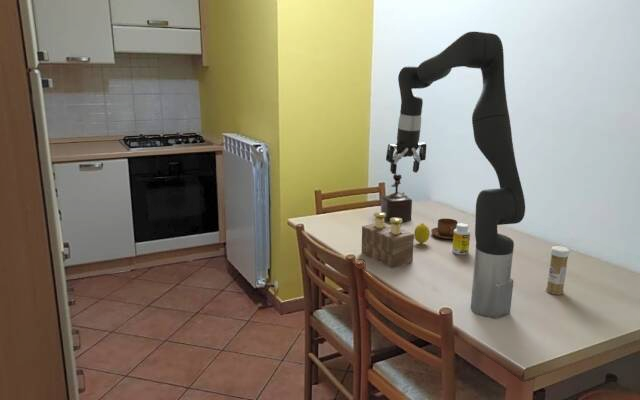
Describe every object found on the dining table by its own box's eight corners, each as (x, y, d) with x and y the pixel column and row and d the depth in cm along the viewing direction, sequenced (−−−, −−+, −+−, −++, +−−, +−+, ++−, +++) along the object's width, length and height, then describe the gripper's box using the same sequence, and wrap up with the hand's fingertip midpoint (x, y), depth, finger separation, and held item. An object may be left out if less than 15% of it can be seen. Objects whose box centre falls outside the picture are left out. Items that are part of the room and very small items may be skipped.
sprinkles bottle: (542, 290, 143) (548, 246, 140) (554, 287, 145) (559, 244, 142) (555, 296, 139) (561, 252, 136) (567, 293, 141) (573, 249, 138)
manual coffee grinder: (413, 220, 210) (415, 179, 206) (389, 222, 207) (390, 181, 203) (398, 211, 225) (400, 172, 220) (375, 212, 222) (377, 173, 217)
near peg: (403, 247, 164) (404, 219, 161) (394, 250, 161) (395, 221, 159) (395, 244, 167) (396, 216, 164) (386, 246, 165) (387, 218, 162)
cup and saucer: (469, 239, 188) (470, 223, 186) (442, 243, 183) (443, 227, 182) (450, 230, 198) (451, 215, 197) (424, 233, 194) (425, 218, 193)
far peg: (387, 241, 170) (388, 214, 167) (378, 243, 168) (379, 215, 165) (379, 238, 173) (380, 211, 171) (371, 240, 171) (371, 213, 168)
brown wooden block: (412, 262, 165) (414, 233, 162) (392, 267, 160) (393, 238, 157) (380, 248, 177) (381, 221, 175) (361, 253, 172) (362, 226, 170)
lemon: (411, 245, 181) (412, 224, 179) (416, 240, 185) (417, 220, 183) (426, 247, 178) (427, 226, 176) (430, 242, 183) (432, 222, 181)
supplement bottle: (461, 256, 170) (463, 228, 167) (448, 251, 174) (450, 224, 172) (471, 253, 173) (474, 225, 170) (459, 248, 177) (461, 221, 175)
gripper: (395, 130, 160) (391, 177, 166) (433, 128, 165) (427, 174, 171) (385, 125, 167) (381, 171, 173) (421, 124, 171) (416, 168, 177)
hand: (404, 172), depth 172 cm, fingers open, 8 cm apart
